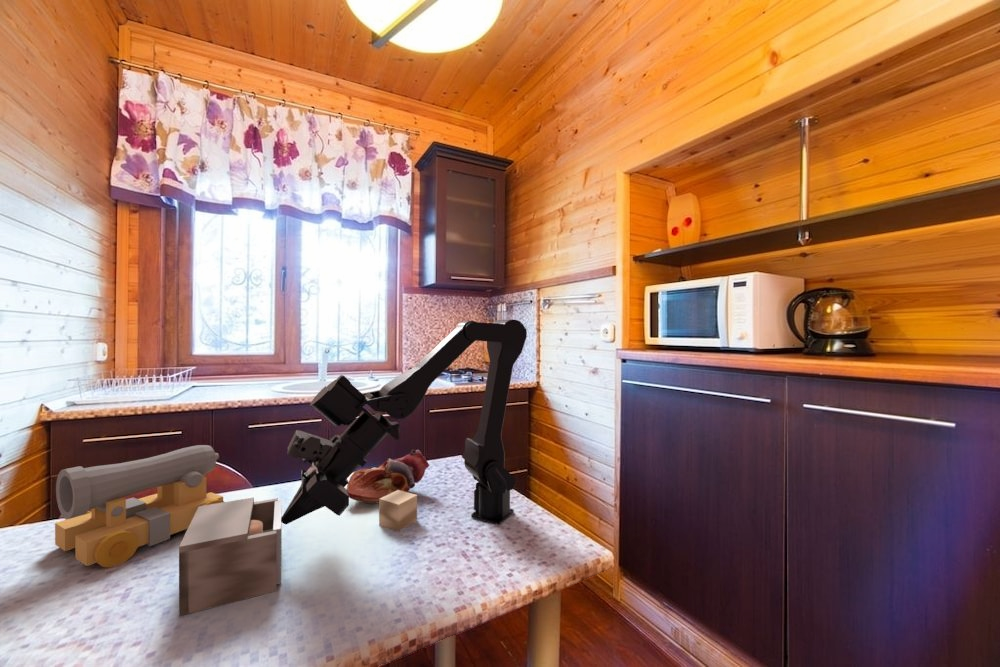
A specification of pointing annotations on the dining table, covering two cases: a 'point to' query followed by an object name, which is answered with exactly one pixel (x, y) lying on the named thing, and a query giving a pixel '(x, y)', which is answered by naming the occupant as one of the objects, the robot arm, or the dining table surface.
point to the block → (398, 510)
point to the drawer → (277, 537)
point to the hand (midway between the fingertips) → (283, 522)
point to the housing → (226, 555)
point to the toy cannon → (131, 503)
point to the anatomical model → (387, 478)
